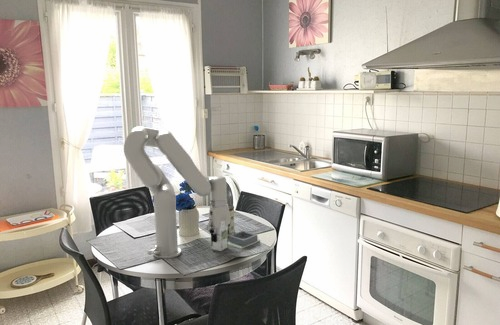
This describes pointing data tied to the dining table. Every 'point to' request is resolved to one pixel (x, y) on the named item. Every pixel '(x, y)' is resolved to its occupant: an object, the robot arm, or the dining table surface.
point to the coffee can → (231, 227)
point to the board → (239, 245)
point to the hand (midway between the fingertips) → (219, 239)
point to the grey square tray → (243, 242)
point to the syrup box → (221, 238)
